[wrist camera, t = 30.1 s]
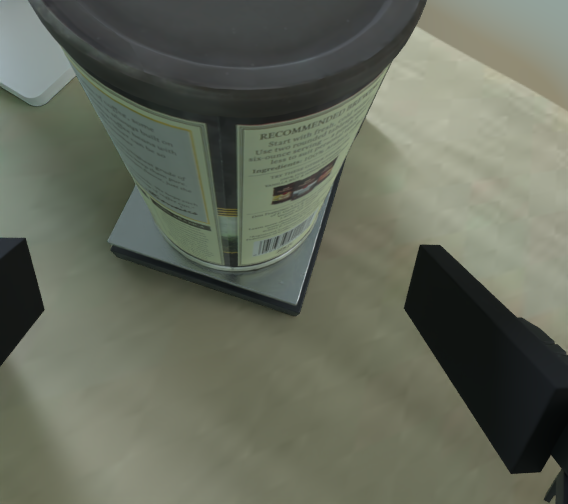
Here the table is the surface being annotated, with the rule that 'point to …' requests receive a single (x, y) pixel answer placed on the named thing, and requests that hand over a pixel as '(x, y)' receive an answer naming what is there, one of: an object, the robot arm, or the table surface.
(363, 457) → the table surface
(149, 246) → the pan
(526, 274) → the table surface
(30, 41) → the tablet stand
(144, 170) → the coffee can
